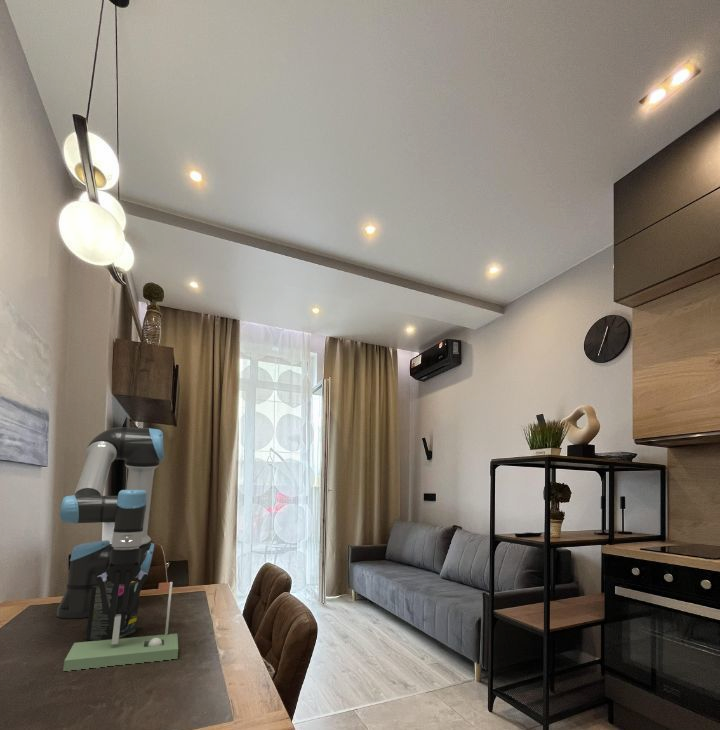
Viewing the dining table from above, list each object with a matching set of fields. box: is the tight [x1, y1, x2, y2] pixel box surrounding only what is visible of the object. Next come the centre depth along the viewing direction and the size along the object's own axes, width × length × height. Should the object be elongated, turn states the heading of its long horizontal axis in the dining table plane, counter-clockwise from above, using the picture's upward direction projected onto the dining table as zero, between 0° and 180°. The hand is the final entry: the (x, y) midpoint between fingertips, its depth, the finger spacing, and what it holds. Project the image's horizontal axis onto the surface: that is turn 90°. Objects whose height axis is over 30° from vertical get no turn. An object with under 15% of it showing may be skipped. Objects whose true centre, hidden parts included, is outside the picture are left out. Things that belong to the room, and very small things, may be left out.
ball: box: [148, 638, 162, 647], centre depth 130 cm, size 4×4×4 cm
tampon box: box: [85, 580, 140, 641], centre depth 146 cm, size 11×9×15 cm
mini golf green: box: [62, 581, 179, 672], centre depth 130 cm, size 14×26×16 cm, turn 111°
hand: (115, 642), depth 128 cm, fingers closed
